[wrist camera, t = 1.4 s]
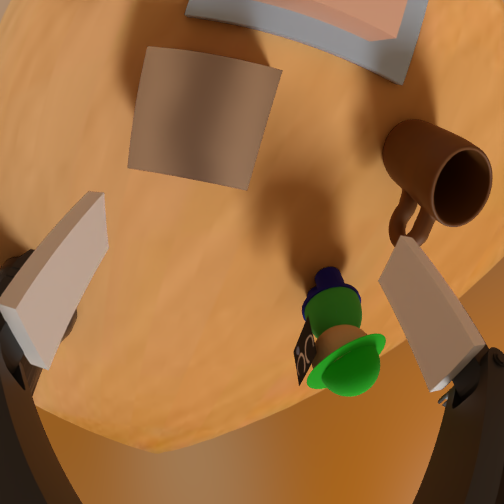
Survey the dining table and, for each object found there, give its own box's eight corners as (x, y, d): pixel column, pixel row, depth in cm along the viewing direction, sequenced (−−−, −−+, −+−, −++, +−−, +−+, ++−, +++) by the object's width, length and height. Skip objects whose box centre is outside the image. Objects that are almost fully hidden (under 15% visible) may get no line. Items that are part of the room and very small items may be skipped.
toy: (299, 254, 33) (329, 369, 21) (366, 261, 34) (415, 361, 22) (283, 310, 38) (299, 415, 26) (343, 312, 39) (373, 407, 27)
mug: (389, 225, 31) (427, 278, 23) (341, 193, 29) (377, 244, 21) (448, 146, 25) (504, 180, 18) (406, 102, 23) (466, 124, 15)
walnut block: (152, 144, 25) (127, 167, 19) (170, 52, 20) (147, 46, 14) (245, 161, 27) (247, 190, 21) (271, 71, 22) (282, 70, 16)
